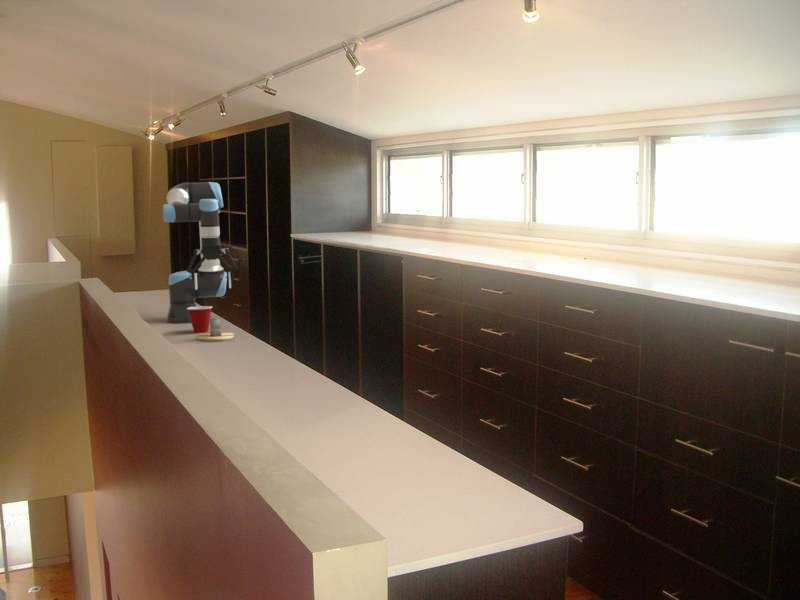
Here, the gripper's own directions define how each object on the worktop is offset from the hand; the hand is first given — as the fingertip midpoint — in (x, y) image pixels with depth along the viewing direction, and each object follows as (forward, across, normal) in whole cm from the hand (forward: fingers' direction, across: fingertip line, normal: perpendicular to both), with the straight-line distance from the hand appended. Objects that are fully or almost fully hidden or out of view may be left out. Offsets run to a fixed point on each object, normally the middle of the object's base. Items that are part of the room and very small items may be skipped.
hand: (213, 288), depth 329 cm
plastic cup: (+22, -7, +16) cm, 28 cm away
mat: (+22, 0, 0) cm, 22 cm away
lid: (+21, 0, 0) cm, 21 cm away
